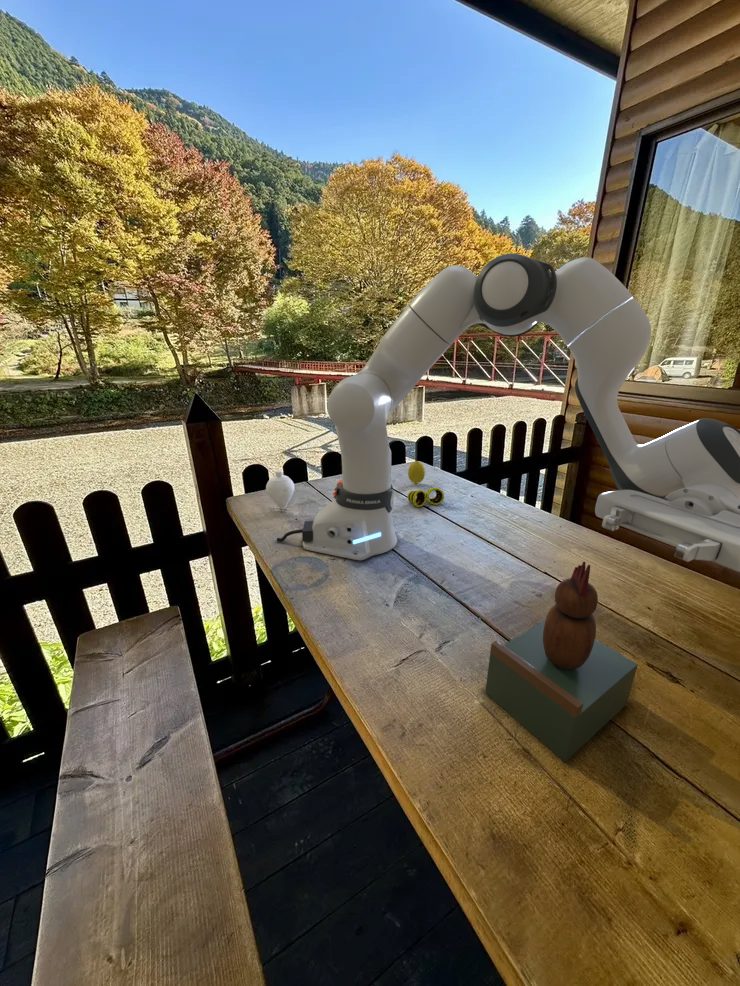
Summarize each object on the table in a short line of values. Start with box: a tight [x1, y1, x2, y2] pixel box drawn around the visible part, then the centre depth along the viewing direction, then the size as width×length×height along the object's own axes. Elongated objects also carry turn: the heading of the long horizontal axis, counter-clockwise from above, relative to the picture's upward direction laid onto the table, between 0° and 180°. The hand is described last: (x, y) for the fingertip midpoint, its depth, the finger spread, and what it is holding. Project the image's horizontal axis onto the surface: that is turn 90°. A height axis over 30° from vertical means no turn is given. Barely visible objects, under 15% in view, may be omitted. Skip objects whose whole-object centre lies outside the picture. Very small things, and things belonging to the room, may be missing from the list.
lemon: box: [407, 460, 426, 485], centre depth 134 cm, size 6×6×8 cm
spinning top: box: [265, 469, 295, 512], centre depth 113 cm, size 8×8×12 cm
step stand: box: [485, 619, 639, 763], centre depth 54 cm, size 12×14×9 cm
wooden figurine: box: [543, 561, 599, 669], centre depth 50 cm, size 7×6×15 cm
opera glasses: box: [407, 487, 445, 508], centre depth 119 cm, size 10×5×5 cm, turn 108°
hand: (641, 537), depth 53 cm, fingers open, 8 cm apart
